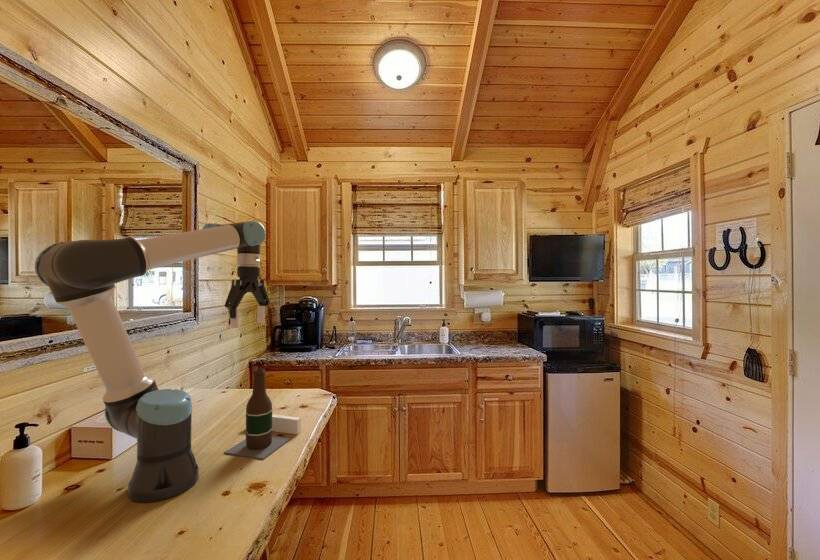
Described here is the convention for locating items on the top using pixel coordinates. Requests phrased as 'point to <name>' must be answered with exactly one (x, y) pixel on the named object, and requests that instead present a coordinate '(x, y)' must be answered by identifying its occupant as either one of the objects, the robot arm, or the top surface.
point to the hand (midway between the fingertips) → (248, 325)
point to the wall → (286, 424)
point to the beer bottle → (259, 415)
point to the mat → (257, 454)
